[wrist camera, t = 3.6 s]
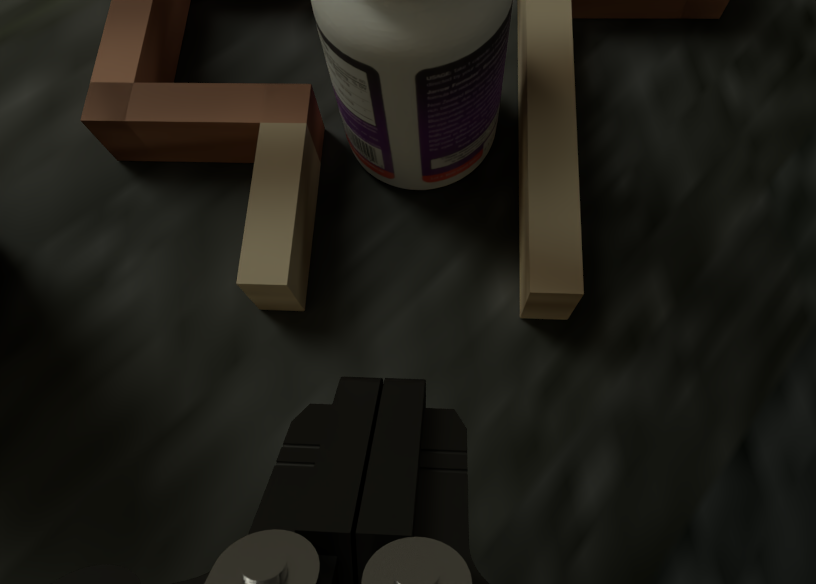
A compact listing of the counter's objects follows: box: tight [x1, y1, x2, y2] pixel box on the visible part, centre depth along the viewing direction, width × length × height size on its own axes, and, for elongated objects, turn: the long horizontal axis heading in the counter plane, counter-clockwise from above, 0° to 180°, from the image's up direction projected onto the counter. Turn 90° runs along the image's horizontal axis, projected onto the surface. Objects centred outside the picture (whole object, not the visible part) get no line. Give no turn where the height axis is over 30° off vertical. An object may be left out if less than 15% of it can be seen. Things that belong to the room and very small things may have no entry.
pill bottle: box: [311, 0, 513, 190], centre depth 18 cm, size 5×5×10 cm
